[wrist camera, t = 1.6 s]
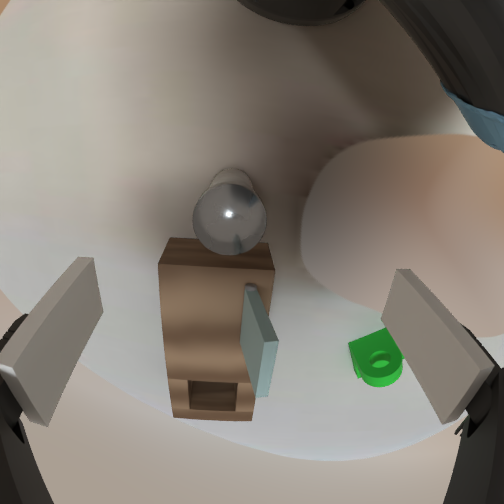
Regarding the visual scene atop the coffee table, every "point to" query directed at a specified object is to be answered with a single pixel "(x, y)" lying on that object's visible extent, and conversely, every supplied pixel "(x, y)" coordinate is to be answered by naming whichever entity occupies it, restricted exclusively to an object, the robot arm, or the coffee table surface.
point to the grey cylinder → (229, 214)
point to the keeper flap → (257, 341)
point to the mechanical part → (377, 358)
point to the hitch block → (209, 327)
